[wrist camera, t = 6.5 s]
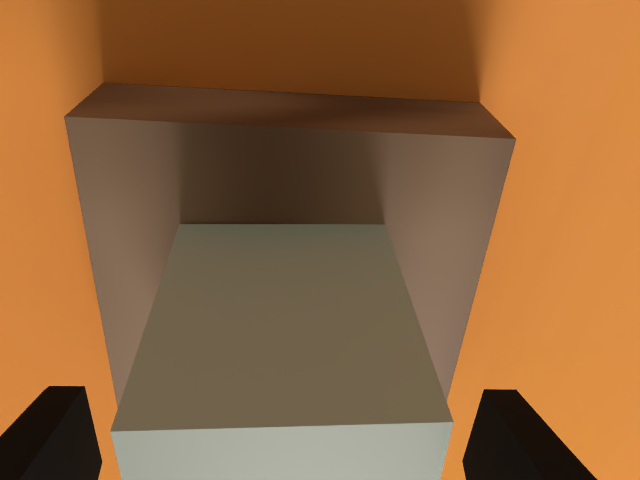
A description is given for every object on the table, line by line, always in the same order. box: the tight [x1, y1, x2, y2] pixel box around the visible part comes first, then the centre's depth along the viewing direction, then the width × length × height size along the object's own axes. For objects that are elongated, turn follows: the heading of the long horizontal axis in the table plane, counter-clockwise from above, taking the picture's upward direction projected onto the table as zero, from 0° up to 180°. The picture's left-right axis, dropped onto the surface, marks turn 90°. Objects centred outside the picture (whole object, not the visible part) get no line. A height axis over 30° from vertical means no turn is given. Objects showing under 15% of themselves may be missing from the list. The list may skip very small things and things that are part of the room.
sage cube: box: [110, 224, 454, 480], centre depth 11 cm, size 4×4×6 cm
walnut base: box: [64, 83, 516, 407], centre depth 14 cm, size 9×9×3 cm
